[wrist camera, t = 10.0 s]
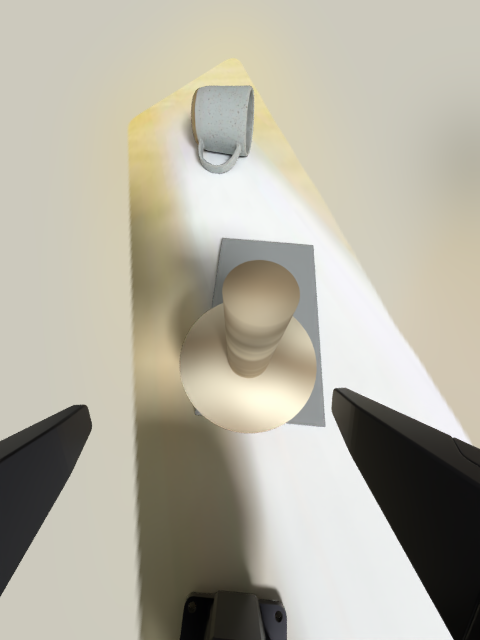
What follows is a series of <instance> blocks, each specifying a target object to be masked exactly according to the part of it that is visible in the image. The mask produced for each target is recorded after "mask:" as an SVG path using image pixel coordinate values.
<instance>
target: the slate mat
mask: <svg viewBox="0 0 480 640" xmlns="http://www.w3.org/2000/svg"><path fill="white" fill-rule="evenodd" d="M252 260H267V261H271V262H274V263H277V264H279V265H281V266H283V267H284V268H286V269H287V270H288V271H289V272H290V273H291V274H292V275H293V276H294V278H295V279H296V281H297V283H298V286H299V290H300V300H299V303H298V306H297V308H296V310H295V312H294V314H293V317H294V318H295V319H296V320H297V321H298V322H299V323H300V324H301V325H302V327H303V328H304V329H305V331H306V332H307V334H308V336H309V337H310V340H311V342H312V344H313V348H314V351H315V356H316V364H317V372H316V380H315V384H314V388H313V390H312V393H311V395H310V397H309V399H308V401H307V402H306V404H305V405H304V407H303V408H302V409H301V410H300V412H299V413H298V414H297V415H295V416H294V417H293V418H292V419H291V420H289V421H288V422H286V423H287V424H298V425H309V426H319V427H325V413H324V398H323V383H322V368H321V353H320V338H319V323H318V308H317V293H316V278H315V263H314V248H313V245H303V244H290V243H278V242H266V241H254V240H241V239H229V238H223V239H222V246H221V252H220V258H219V265H218V271H217V277H216V284H215V290H214V296H213V303H212V308H213V307H215V306H217V305H219V304H222V303H223V294H222V288H223V283H224V280H225V278H226V276H227V275H228V274H229V272H230V271H231V270H232V269H234V268H235V267H236V266H238V265H240V264H242V263H244V262H247V261H252ZM195 415H202V414H201V413H200V412H199V411H198V410H197V409H196V410H195Z"/></svg>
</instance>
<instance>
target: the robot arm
mask: <svg viewBox="0 0 480 640" xmlns="http://www.w3.org/2000/svg"><path fill="white" fill-rule="evenodd" d="M332 413H333V416H334V418H335V420H336V423H337V425H338V427H339V430H340V432H341V434H342V437H343V439H344V441H345V443H346V446H347V448H348V450H349V452H350V454H351V456H352V458H353V460H354V462H355V463H356V465H357V467H358V469H359V471H360V472H361V474H362V476H363V478H364V480H365V481H366V483H367V485H368V487H369V489H370V490H371V492H372V494H373V496H374V498H375V499H376V501H377V503H378V505H379V507H380V508H381V510H382V512H383V514H384V516H385V517H386V519H387V521H388V523H389V524H390V526H391V528H392V530H393V532H394V533H395V535H396V537H397V539H398V541H399V542H400V544H401V546H402V548H403V550H404V551H405V553H406V555H407V557H408V559H409V560H410V562H411V564H412V566H413V568H414V569H415V571H416V573H417V575H418V577H419V578H420V580H421V582H422V584H423V585H424V587H425V589H426V591H427V593H428V594H429V596H430V598H431V600H432V602H433V603H434V605H435V607H436V609H437V611H438V612H439V614H440V616H441V618H442V620H443V621H444V623H445V625H446V627H447V629H448V630H449V632H450V634H451V636H452V638H453V639H454V640H480V449H479V448H476V447H474V446H472V445H470V444H468V443H465V442H463V441H461V440H459V439H457V438H452V437H451V436H450V435H448V434H446V433H443V432H441V431H439V430H437V429H435V428H432V427H430V426H428V425H426V424H424V423H421V422H419V421H417V420H415V419H413V418H410V417H408V416H406V415H404V414H402V413H399V412H397V411H395V410H393V409H391V408H389V407H386V406H384V405H382V404H380V403H378V402H375V401H373V400H371V399H369V398H367V397H364V396H362V395H360V394H358V393H356V392H354V391H351V390H349V389H347V388H335V389H334V390H333V397H332ZM91 429H92V422H91V418H90V414H89V410H88V407H87V406H86V405H73V406H71V407H69V408H67V409H65V410H63V411H61V412H58V413H57V414H54V415H52V416H50V417H48V418H46V419H44V420H42V421H40V422H38V423H36V424H34V425H32V426H30V427H28V428H26V429H24V430H22V431H20V432H18V433H16V434H14V435H12V436H10V437H8V438H6V439H4V440H2V441H0V596H1V594H2V593H3V591H4V589H5V588H6V586H7V584H8V582H9V581H10V579H11V577H12V575H13V574H14V572H15V570H16V569H17V567H18V565H19V563H20V562H21V560H22V558H23V556H24V555H25V553H26V551H27V550H28V548H29V546H30V544H31V543H32V541H33V539H34V537H35V536H36V534H37V532H38V531H39V529H40V527H41V525H42V524H43V522H44V520H45V518H46V517H47V515H48V513H49V511H50V510H51V508H52V506H53V504H54V503H55V501H56V499H57V498H58V496H59V494H60V492H61V491H62V489H63V487H64V485H65V483H66V482H67V480H68V478H69V477H70V474H71V473H72V471H73V469H74V466H75V464H76V462H77V460H78V458H79V456H80V454H81V451H82V449H83V447H84V445H85V443H86V441H87V439H88V436H89V434H90V432H91ZM190 602H195V604H196V607H195V608H194V609H192V608H190V606H189V603H190ZM277 611H280V612H281V613H282V614H281V616H280V618H277V617H275V613H276V612H277ZM180 640H287V616H286V611H285V608H284V606H283V604H282V603H281V602H279V601H271V600H262V599H258V598H257V597H256V595H255V594H248V593H238V592H229V591H218V592H217V593H216V594H206V593H196V592H193V593H191V594H189V595H188V597H187V599H186V602H185V606H184V613H183V620H182V628H181V635H180Z"/></svg>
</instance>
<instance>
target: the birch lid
mask: <svg viewBox="0 0 480 640" xmlns="http://www.w3.org/2000/svg"><path fill="white" fill-rule="evenodd" d="M222 294H223V303H222V304H219V305H217V306H215V307H213V308H212V309H210V310H209V311H207V312H206V313H204V314H203V315H202V316H201V317H200V318H199V319H198V320H197V321H196V322H195V323H194V324H193V326H192V327H191V329H190V330H189V332H188V334H187V336H186V337H185V340H184V343H183V345H182V349H181V353H180V375H181V381H182V384H183V387H184V390H185V392H186V394H187V396H188V398H189V400H190V401H191V403H192V404H193V406H194V407H195V408H196V409H197V410H198V411H199V412H200V413H201V414H202V415H203V416H204V417H205V418H206V419H208V420H209V421H211V422H212V423H214V424H216V425H218V426H220V427H222V428H224V429H227V430H230V431H234V432H240V433H259V432H265V431H269V430H272V429H275V428H277V427H279V426H281V425H283V424H285V423H286V422H288V421H289V420H291V419H292V418H293V417H294V416H295V415H297V414H298V413H299V412H300V410H301V409H302V408H303V407H304V405H305V404H306V402H307V401H308V399H309V397H310V395H311V393H312V390H313V388H314V384H315V380H316V372H317V364H316V356H315V351H314V348H313V344H312V342H311V340H310V337H309V336H308V334H307V332H306V331H305V329H304V328H303V327H302V325H301V324H300V323H299V322H298V321H297V320H296V319H295V318H294V317H293V314H294V312H295V310H296V308H297V306H298V303H299V300H300V290H299V286H298V283H297V281H296V279H295V278H294V276H293V275H292V274H291V273H290V272H289V271H288V270H287V269H286V268H284V267H283V266H281V265H279V264H277V263H274V262H271V261H267V260H252V261H247V262H244V263H242V264H240V265H238V266H236V267H235V268H234V269H232V270H231V271H230V272H229V274H228V275H227V276H226V278H225V280H224V283H223V288H222Z"/></svg>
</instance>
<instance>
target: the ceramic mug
mask: <svg viewBox="0 0 480 640" xmlns="http://www.w3.org/2000/svg"><path fill="white" fill-rule="evenodd" d="M191 121H192V129H193V135H194V138H195V141H196V143H197V144H198V152H199V157H200V160H201V163H202V165H203V166H204V168H206V169H207V170H208V171H210V172H212V173H218V174H220V173H225V172H227V171H229V170H230V169H231V168H232V167H234V165H235V163H236V162H237V160H238V157H239V156H248V154H249V152H250V148H251V142H252V135H253V124H254V91H253V88H252V86H205V87H201V88H198V89H197V90H196V91H195V93H194V95H193V99H192V107H191ZM203 149H205V150H208V151H213V152H221V153H226V154H233V155H232V157H231V158H230V159H229V160H228V161H227V162H225V163H224V164H221V165H217V166H216V165H212V164H210V163H208V162H207V161H206V160H205V159H204V158H203Z"/></svg>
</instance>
